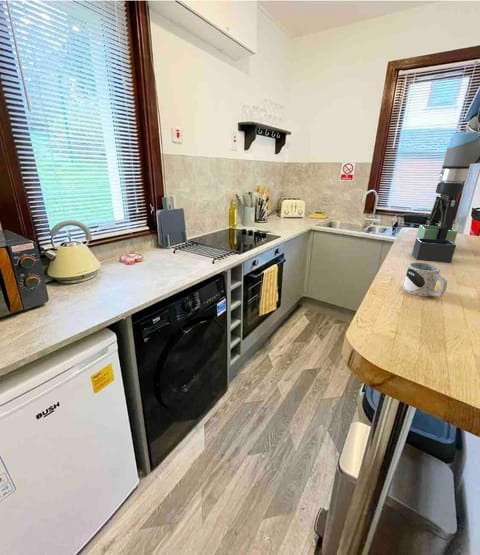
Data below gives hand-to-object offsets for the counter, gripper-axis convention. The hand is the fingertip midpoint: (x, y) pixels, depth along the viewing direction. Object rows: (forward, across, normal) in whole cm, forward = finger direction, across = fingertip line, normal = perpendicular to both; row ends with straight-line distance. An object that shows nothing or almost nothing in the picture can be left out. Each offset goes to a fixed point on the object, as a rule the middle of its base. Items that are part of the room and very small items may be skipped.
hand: (433, 243), depth 104 cm
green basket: (+2, 0, 0) cm, 2 cm away
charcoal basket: (+2, +13, -4) cm, 14 cm away
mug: (+2, +45, -14) cm, 47 cm away
